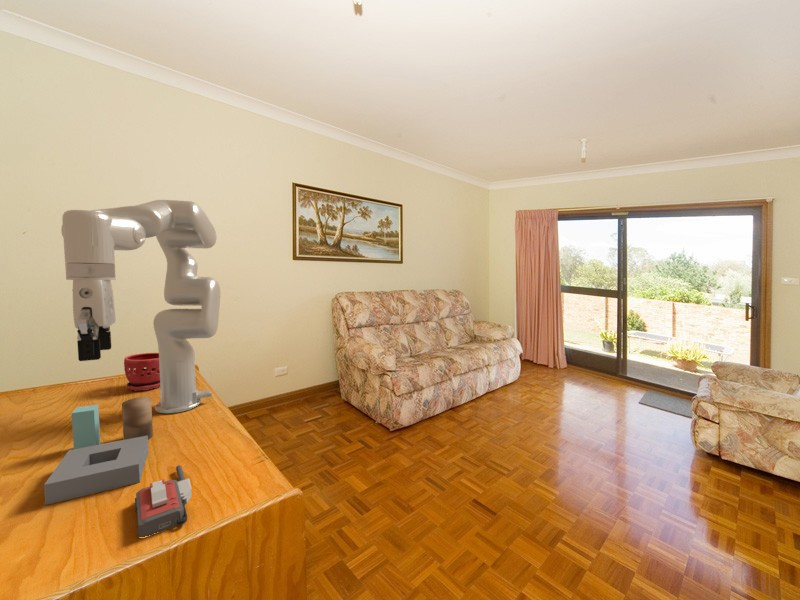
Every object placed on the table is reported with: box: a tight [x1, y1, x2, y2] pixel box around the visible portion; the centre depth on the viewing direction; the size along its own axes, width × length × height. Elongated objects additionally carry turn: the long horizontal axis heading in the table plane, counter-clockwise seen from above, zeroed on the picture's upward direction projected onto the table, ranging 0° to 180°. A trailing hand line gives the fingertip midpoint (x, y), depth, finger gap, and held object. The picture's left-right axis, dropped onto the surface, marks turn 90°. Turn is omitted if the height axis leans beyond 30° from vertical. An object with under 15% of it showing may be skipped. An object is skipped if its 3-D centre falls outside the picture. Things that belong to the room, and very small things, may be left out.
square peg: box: [70, 403, 101, 449], centre depth 83 cm, size 4×4×10 cm
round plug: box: [121, 396, 154, 441], centre depth 88 cm, size 6×6×10 cm
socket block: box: [43, 435, 149, 506], centre depth 72 cm, size 14×14×4 cm
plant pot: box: [123, 352, 160, 392], centre depth 126 cm, size 13×13×12 cm
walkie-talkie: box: [134, 464, 193, 537], centre depth 64 cm, size 9×4×20 cm
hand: (96, 354), depth 71 cm, fingers open, 9 cm apart
